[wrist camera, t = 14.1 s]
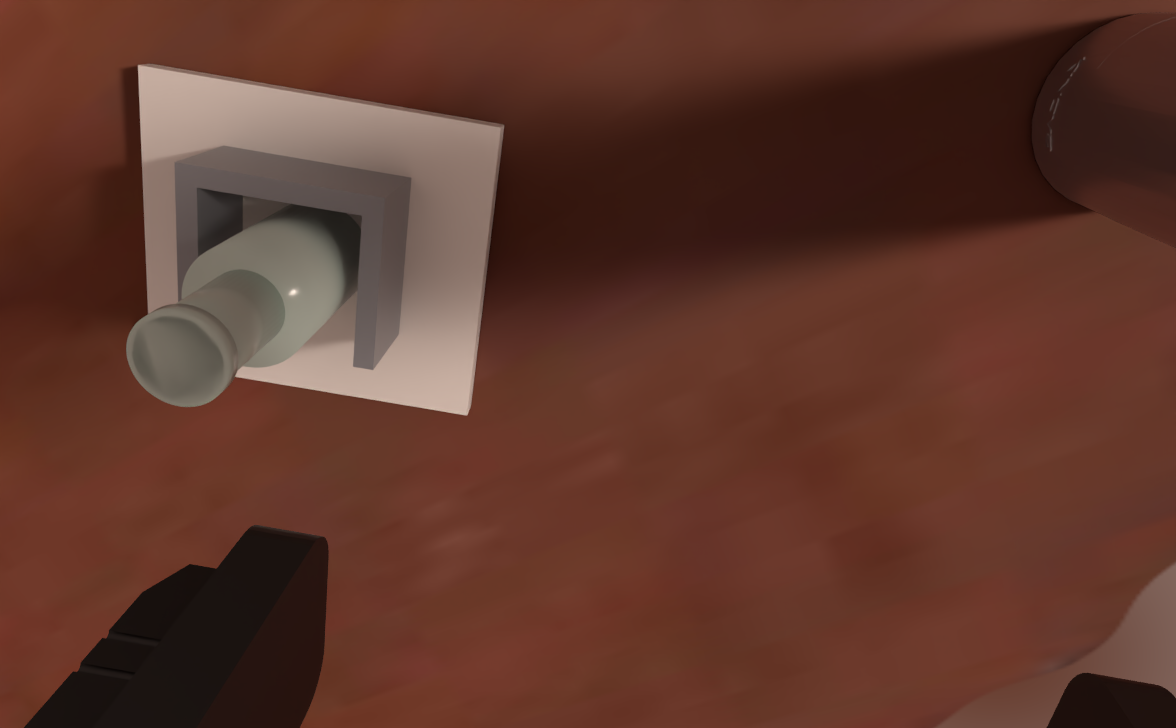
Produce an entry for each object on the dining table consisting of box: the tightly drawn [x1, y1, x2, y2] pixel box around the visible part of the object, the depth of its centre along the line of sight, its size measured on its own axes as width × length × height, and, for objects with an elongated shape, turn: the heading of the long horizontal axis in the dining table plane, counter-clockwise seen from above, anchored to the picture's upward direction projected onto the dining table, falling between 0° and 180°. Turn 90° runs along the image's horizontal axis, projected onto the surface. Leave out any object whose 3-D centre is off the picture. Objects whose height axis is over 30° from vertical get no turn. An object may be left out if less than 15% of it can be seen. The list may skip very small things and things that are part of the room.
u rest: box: [138, 64, 504, 415], centre depth 44 cm, size 18×16×6 cm
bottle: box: [126, 204, 361, 407], centre depth 39 cm, size 6×6×15 cm
